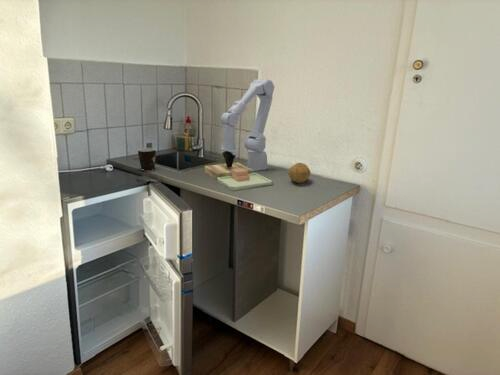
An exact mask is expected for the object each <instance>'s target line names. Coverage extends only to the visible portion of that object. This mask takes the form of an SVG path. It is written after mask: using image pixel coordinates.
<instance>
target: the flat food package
mask: <svg viewBox="0 0 500 375" xmlns="http://www.w3.org/2000/svg"><path fill="white" fill-rule="evenodd" d="M237 168H244V169H246V170H248V174H250V173H254V171H253V170H252V169H250V168H248V166H247V165H243V164H241V163H240V162H233V164H232V167H229V168H228V167H227V166H226V163H220V164H211V165H204V173H206V174H207V175H209V176H210V177H212V178H213V179H215V180H217V178H218V177H226V176H232V174H231V169H237Z"/></svg>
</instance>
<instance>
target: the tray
mask: <svg viewBox="0 0 500 375" xmlns="http://www.w3.org/2000/svg"><path fill="white" fill-rule="evenodd" d="M248 175H249V176H250V180H247V181H240V182H237V181H235V180H234V179H232V176H226V177H218V178H217V179H216V182H217V183H219V184H220V185H222V186H224V187H225V188H227V189H228V190H229V191H231V192H234V191H235V192H236V191H240V190H241V191H242V190H246V189H255V188H260V187H268V186H273V185H274V181H273V180H270V179H269V178H267V177H265V176H263V175H261V174H259V173H257V172H253V173H250V174H248Z"/></svg>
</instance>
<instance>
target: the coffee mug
mask: <svg viewBox="0 0 500 375" xmlns="http://www.w3.org/2000/svg"><path fill="white" fill-rule="evenodd" d="M156 150H157V148H154V147H141V148H138V149H137V154H138V159H139V164H140V169H144V170H152V169H154V170H155V169H156V168H155V166H156V165H155V164H156V152H157V151H156ZM152 171H153V170H152Z"/></svg>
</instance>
